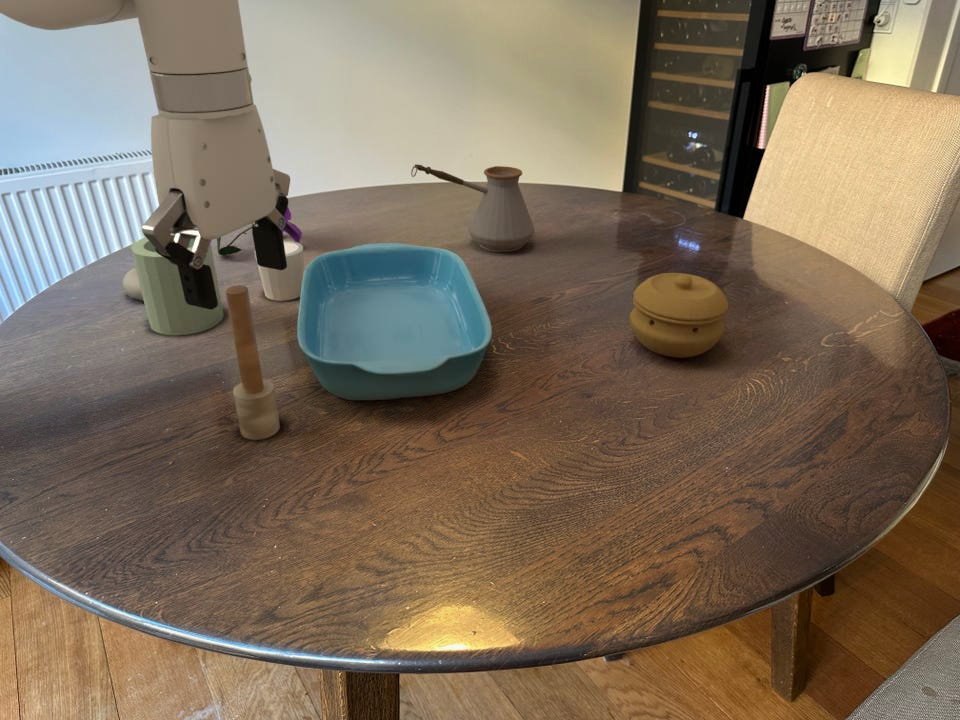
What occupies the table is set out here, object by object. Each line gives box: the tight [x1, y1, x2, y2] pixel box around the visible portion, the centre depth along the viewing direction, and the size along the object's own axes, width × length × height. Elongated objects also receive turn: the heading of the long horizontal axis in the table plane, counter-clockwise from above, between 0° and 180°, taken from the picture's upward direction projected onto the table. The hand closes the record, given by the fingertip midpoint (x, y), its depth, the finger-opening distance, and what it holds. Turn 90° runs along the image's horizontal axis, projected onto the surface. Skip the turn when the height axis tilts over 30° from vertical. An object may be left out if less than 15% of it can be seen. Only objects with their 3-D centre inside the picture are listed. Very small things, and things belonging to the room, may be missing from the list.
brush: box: [225, 284, 281, 441], centre depth 70 cm, size 4×4×16 cm
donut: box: [121, 266, 144, 302], centre depth 103 cm, size 10×3×10 cm
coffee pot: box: [410, 164, 535, 253], centre depth 118 cm, size 21×12×15 cm, turn 109°
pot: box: [629, 272, 729, 359], centre depth 89 cm, size 12×12×10 cm
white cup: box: [253, 240, 305, 302], centre depth 102 cm, size 7×7×7 cm
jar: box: [130, 233, 224, 336], centre depth 93 cm, size 9×9×11 cm
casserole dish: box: [296, 242, 493, 402], centre depth 89 cm, size 37×22×7 cm, turn 10°
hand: (239, 285), depth 66 cm, fingers open, 9 cm apart
